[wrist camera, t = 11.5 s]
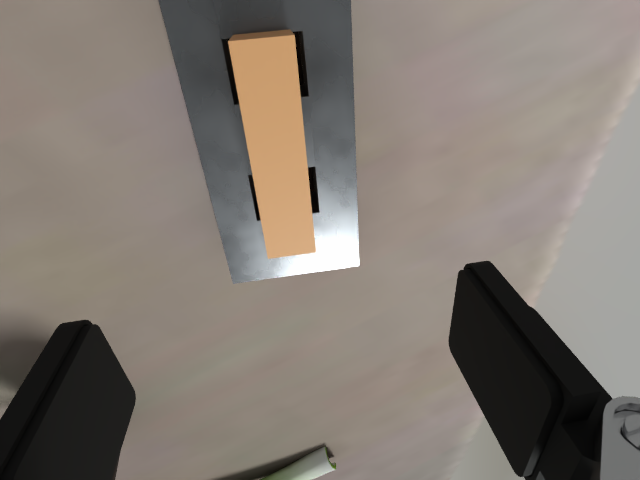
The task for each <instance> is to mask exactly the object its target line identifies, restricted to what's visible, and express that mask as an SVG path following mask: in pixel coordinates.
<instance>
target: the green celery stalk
mask: <svg viewBox="0 0 640 480" xmlns="http://www.w3.org/2000/svg"><path fill="white" fill-rule="evenodd" d="M333 470H336V463H332V464H331V462H330V461H329V459H328V455H327V448H326V447H323V448H320V449H318V450H316V451H314V452H312V453H310V454H308V455H306V456H304V457H302V458H301V459H299V460H297V461H296V462H294V463H292V464H291V465H289V466H287V467H285V468H283V469H281V470H279V471H277V472H275V473H272V474H270V475H268V476H266V477H264V478H262V479H260V480H312V479H314V478H317V477H319V476H321V475H324V474H326V473H329V472H331V471H333Z"/></svg>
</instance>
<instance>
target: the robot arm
mask: <svg viewBox="0 0 640 480" xmlns="http://www.w3.org/2000/svg"><path fill="white" fill-rule="evenodd" d="M449 347H450V351H451V353H452V355H453V357H454V359H455V361H456V363H457V365H458V367H459V368H460V370H461V372H462V374H463V376H464V378H465V380H466V382H467V384H468V385H469V387H470V389H471V391H472V393H473V395H474V397H475V399H476V401H477V402H478V404H479V406H480V408H481V410H482V412H483V414H484V416H485V418H486V419H487V421H488V423H489V425H490V427H491V429H492V431H493V433H494V435H495V436H496V438H497V440H498V442H499V444H500V446H501V448H502V450H503V451H504V453H505V455H506V457H507V459H508V461H509V463H510V465H511V466H512V468H513V470H514V472H515V473H516V474H517V475H518V476H520V477H524V478H525V480H640V398H637V397H624V396H622V397H618V398H615V399H612V398H611V396H610V395H609V394H608V393H607V392H606V391H605V390H604V388H603V387H602V386H601V385H600V384H599V383H598V382H597V380H596V379H595V378H594V377H593V376H592V374H591V373H590V372H589V371H588V370H587V369H586V368H585V366H584V365H583V364H582V363H581V362H580V361H579V360H578V358H577V357H576V356H575V355H574V354H573V353H572V351H571V350H570V349H569V348H568V347H567V346H566V345H565V343H564V342H563V341H562V340H561V339H560V338H559V337H558V335H557V334H556V333H555V332H554V331H553V330H552V328H551V327H550V326H549V325H548V324H547V323H546V322H545V321H544V319H543V318H542V317H541V316H540V315H539V314H538V312H537V311H536V310H534V309H533V308H532V307H530V306H528V305H527V303H526V302H525V301H524V300H523V299H522V298H521V296H520V295H519V294H518V293H517V292H516V291H515V289H514V288H513V287H512V286H511V285H510V284H509V282H508V281H507V280H506V279H505V278H504V277H503V276H502V274H501V273H500V272H499V271H498V270H497V269H496V267H495V266H494V265H493V264H492V263H491V262H490V261H483V262H476V263H469V264H466V265H465V267H464V270H460V271H459V273H458V278H457V285H456V292H455V299H454V306H453V313H452V320H451V327H450V334H449ZM135 400H136V396H135V391H134V389H133V387H132V385H131V383H130V381H129V380H128V378H127V376H126V374H125V372H124V371H123V369H122V367H121V365H120V363H119V361H118V360H117V358H116V356H115V354H114V352H113V351H112V349H111V347H110V345H109V343H108V342H107V340H106V338H105V336H104V334H103V333H102V331H101V329H100V327H99V326H98V325H96V324H92V323H91V322H90V321H89V320H81V321H74V322H67V323H62V324H60V325H59V326H58V327H57V328H56V330H55V332H54V333H53V335H52V337H51V338H50V340H49V341H48V343H47V345H46V346H45V348H44V350H43V351H42V353H41V354H40V356H39V358H38V359H37V361H36V362H35V364H34V366H33V367H32V369H31V371H30V372H29V374H28V375H27V377H26V379H25V380H24V382H23V384H22V385H21V387H20V388H19V390H18V392H17V393H16V395H15V397H14V398H13V400H12V401H11V403H10V405H9V406H8V408H7V409H6V411H5V413H4V414H3V416H2V418H1V419H0V480H112V476H113V473H114V470H115V467H116V464H117V460H118V457H119V454H120V451H121V447H122V444H123V441H124V438H125V435H126V431H127V428H128V425H129V422H130V418H131V415H132V412H133V409H134V406H135Z"/></svg>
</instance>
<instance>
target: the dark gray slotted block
mask: <svg viewBox="0 0 640 480" xmlns="http://www.w3.org/2000/svg"><path fill="white" fill-rule="evenodd" d="M159 4H160V8H161V12H162V15H163V19H164V23H165V27H166V31H167V34H168V38H169V42H170V46H171V50H172V53H173V57H174V61H175V65H176V69H177V72H178V76H179V80H180V84H181V88H182V91H183V95H184V99H185V103H186V107H187V110H188V114H189V118H190V122H191V126H192V129H193V133H194V137H195V141H196V145H197V148H198V152H199V156H200V160H201V164H202V167H203V171H204V175H205V179H206V183H207V186H208V190H209V194H210V198H211V202H212V205H213V209H214V213H215V217H216V221H217V224H218V228H219V232H220V236H221V240H222V243H223V247H224V251H225V255H226V259H227V262H228V266H229V270H230V274H231V278H232V281H233V284H235V283H242V282H249V281H256V280H263V279H270V278H277V277H284V276H291V275H298V274H305V273H312V272H319V271H326V270H333V269H340V268H347V267H355V266H359V239H358V208H357V177H356V146H355V115H354V85H353V54H352V23H351V0H159ZM288 29H290V30H291V31H292V32H296V31H298V32H299V42H300V52H301V63H302V73H303V83H304V85H301V86H300V94H301V105H302V115H303V125H304V135H305V145H306V155H307V165H308V167H312V174H313V184H314V192H310V196H311V206H312V216H313V226H314V236H315V246H316V253H309V254H301V255H294V256H286V257H279V258H271V259H268V257H267V251H266V246H265V240H264V235H263V230H262V224H261V219H260V213H259V208H258V202H257V197H256V191H255V186H254V181H253V175H252V170H251V164H250V159H249V153H248V148H247V142H246V137H245V132H244V126H243V121H242V115H241V110H240V104H239V99H238V93H237V88H236V83H235V77H234V72H233V67H232V62H231V56H230V51H229V46H228V41H227V39H228V38H231V37H232V36H233V35H236V34H247V33H257V32H267V31H278V30H288Z"/></svg>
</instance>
